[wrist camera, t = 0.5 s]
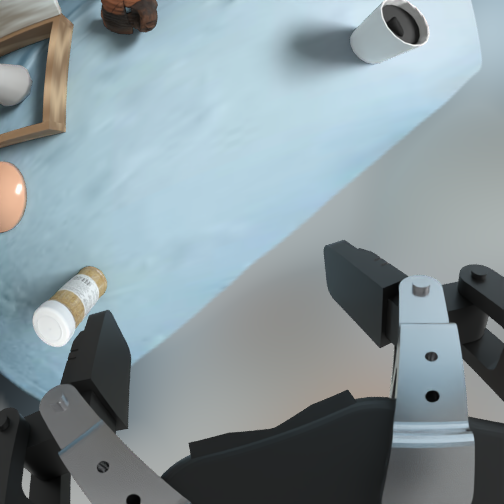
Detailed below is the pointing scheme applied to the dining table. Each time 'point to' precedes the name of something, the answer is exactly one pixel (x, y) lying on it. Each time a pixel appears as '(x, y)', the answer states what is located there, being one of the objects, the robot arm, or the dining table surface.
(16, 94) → the salt shaker
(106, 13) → the pottery mug
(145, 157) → the dining table surface
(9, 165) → the terracotta saucer
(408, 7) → the drinking glass
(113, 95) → the dining table surface
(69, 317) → the sprinkles bottle
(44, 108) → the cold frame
